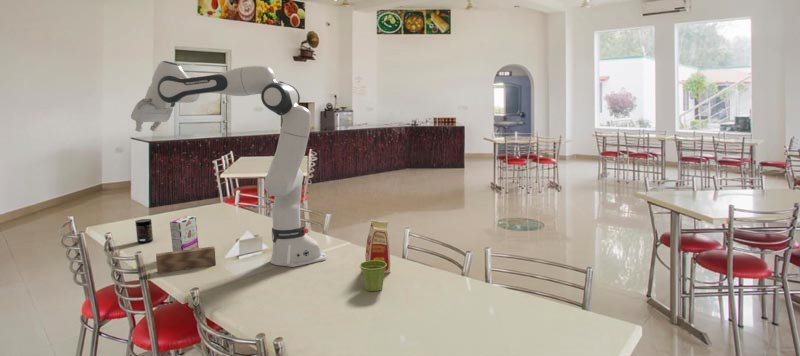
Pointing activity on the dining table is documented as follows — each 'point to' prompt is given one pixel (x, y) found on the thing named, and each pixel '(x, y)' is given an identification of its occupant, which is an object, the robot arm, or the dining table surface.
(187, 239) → the candy bar box
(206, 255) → the walnut board
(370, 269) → the plant pot
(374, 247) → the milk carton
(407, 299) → the dining table surface
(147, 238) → the supplement container
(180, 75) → the robot arm
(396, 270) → the dining table surface
